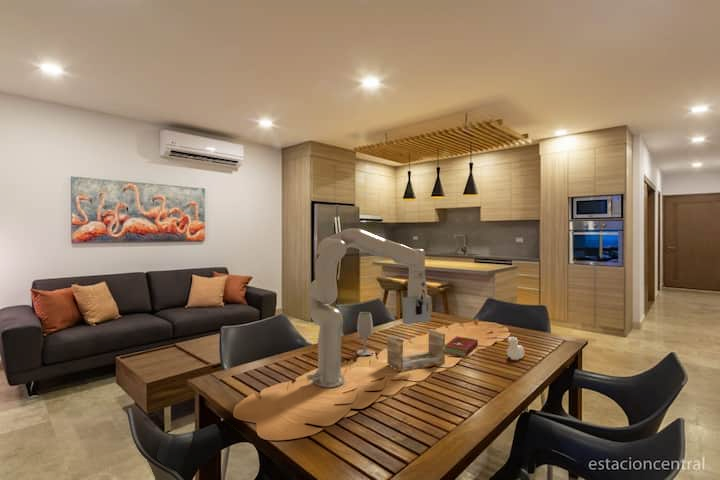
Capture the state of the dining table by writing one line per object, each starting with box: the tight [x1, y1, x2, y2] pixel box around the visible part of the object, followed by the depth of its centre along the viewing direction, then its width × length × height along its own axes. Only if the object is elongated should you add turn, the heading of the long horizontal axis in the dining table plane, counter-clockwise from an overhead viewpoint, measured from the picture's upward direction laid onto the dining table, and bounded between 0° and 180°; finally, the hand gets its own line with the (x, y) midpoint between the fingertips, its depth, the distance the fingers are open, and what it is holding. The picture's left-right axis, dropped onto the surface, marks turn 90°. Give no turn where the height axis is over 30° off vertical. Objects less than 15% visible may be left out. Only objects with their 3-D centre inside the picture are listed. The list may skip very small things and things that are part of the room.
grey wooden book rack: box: [387, 328, 446, 372], centre depth 178 cm, size 26×10×14 cm, turn 117°
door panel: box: [402, 294, 432, 325], centre depth 178 cm, size 14×4×12 cm, turn 117°
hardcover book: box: [445, 335, 479, 357], centre depth 201 cm, size 12×21×4 cm, turn 147°
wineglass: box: [356, 311, 374, 357], centre depth 193 cm, size 9×9×21 cm
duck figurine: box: [506, 336, 526, 361], centre depth 188 cm, size 12×8×11 cm
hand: (416, 313), depth 178 cm, fingers closed on door panel, 3 cm apart
